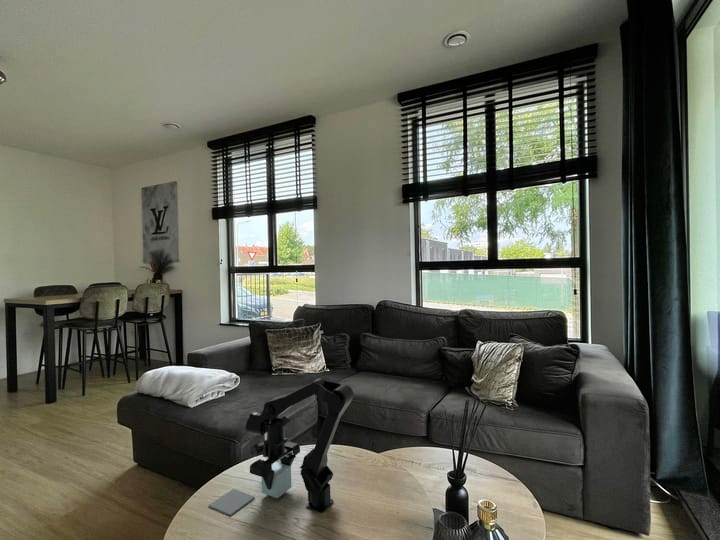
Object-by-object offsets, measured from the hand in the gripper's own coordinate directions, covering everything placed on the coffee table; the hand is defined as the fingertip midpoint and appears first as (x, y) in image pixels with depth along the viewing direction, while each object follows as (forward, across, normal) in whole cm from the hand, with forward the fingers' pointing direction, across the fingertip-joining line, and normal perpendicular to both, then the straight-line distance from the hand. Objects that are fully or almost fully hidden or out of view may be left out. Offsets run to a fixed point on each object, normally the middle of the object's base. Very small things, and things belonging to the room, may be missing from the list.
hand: (276, 483), depth 122 cm
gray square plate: (+4, +10, -10) cm, 15 cm away
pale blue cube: (+2, 0, 0) cm, 2 cm away
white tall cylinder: (+4, -14, -14) cm, 20 cm away
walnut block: (+4, 0, 0) cm, 4 cm away
